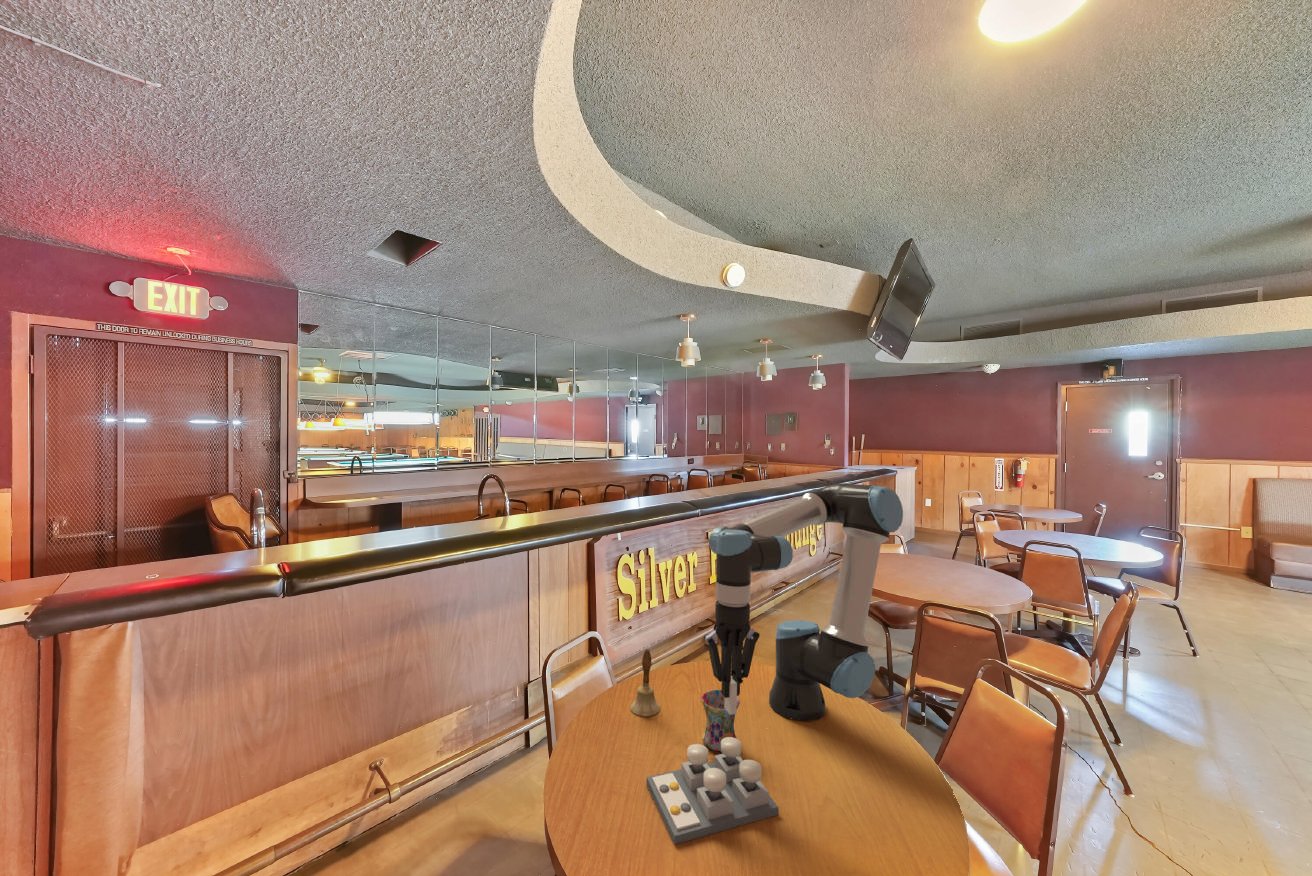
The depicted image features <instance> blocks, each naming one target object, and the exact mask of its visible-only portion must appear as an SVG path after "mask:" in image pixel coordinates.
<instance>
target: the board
mask: <svg viewBox="0 0 1312 876" xmlns="http://www.w3.org/2000/svg"><path fill="white" fill-rule="evenodd" d="M743 760H744V759H743V758H742V757H741V755H739V756H738V757H736V762H735V764H733V765H730V764H728V763H727V762H726V756H725V755H724V754H723V753H719V754H716V755H714V761H711V762H707V763H705V764H703V765H702V771H701V772H699V773H697V772H694V771H693V764H692V763H690V762H689V761H684V762H681V764H680V765H681V766H680V767H681V769H676V770H671V771H668V772H663V773H660V774H654V775H651V776H650V775H649V776H647V777H646V786H647V788H648V791H649V793H650V795H651V797H652V799H653V801H654V803H655V805H656V808H657V810H658V811H659V814H660V817H661V819H662V821H663V823H664V825H665V827H666V829H667V831H668V833H669V835H670V837H671V839H672V842H673V844H674V845H678V844H681V843H684V842H688V841H692V840H695V839H699V838H702V837H705V836H710V835H713V834H715V833H720V832H724V831H727V830H730V829H733V828H737V827H740V826H741V827H742V826H744V825H748V824H751V823H754V822H758V821H761V820H764V819H768V818H772V817H775V816H778V815H779V814H780V813H779V812H780V810H779V809H780V808H779V805H778V804H777V803H776V802H775V801H774V799H773V798H772V797H771V796H770V795H769V793H770V792H769V790H768V789H767V788H766V787H765V785H764V784H763V783H762V782H761V780H760V781H758V782H755V789H754V790H748V789H747V788H746V787H745V780H743V779H742V778H741V777H740V775H739V764H740V762H741V761H743ZM709 768H718V769H720V770H722V771H723V772H724V773H725V774H726V788H725V789H724V790H723V791H720V797H719V799H716V800H715V799H712V798H710V796H709V794H710V790H708V789H707V788H706V787H705V786H704V772H705V770H707V769H709Z"/></svg>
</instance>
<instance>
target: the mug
mask: <svg viewBox="0 0 1312 876" xmlns="http://www.w3.org/2000/svg"><path fill="white" fill-rule="evenodd" d="M721 692H722V689H711V690H707V691H705V692H704V693H703V694H702V696H701V698H700V701H701V703H702V706H703V709H704V712H705V718H706V719H705V721H706V722H705V723H706V725H705V729H704V732H703V734H702V737H701V738H702V741H703V743H704V746H705V747H706V748H709V749H711V750H713V751H715V752H721V740H722V739H723V738H726V737H733V738H736V739H738V738H737V735H736V731H735V717H736V714H732V715H730V714H729V713H728V712H727V711H726V710H725V708H724V701H725V697H724V696H723V695H722V693H721ZM740 702H741V701H740V699H739V697H738V696H737V707H736V712H737V711H738V708H739V706H740Z"/></svg>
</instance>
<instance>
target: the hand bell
mask: <svg viewBox="0 0 1312 876" xmlns="http://www.w3.org/2000/svg"><path fill="white" fill-rule="evenodd" d="M641 667H642V671H643V678H642V685H640V686H639V687H638V688H637V693H636V697H635V700H634V701H633V702H632V703H631V705H630V707H629V708H630V711H631V713H632V714H633V715H636V716H638V717H645V718H646V717H647V718H648V717H652V716H655V715H657V714H659V712H660V711H661V706H660V703H659V702H657V700H656V697H655V690H654V687H653V686H651V685H650V670H651V668H652V655H651V651H650V649H649V648H646V649H644V652H643V655H642V659H641Z"/></svg>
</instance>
